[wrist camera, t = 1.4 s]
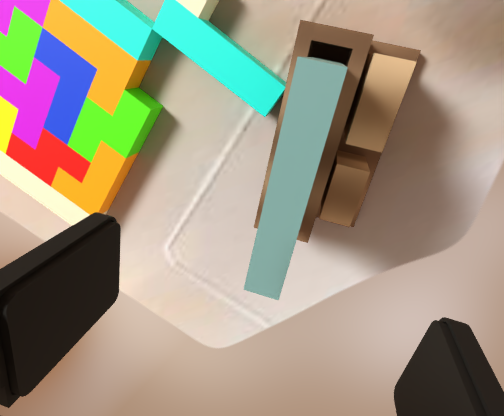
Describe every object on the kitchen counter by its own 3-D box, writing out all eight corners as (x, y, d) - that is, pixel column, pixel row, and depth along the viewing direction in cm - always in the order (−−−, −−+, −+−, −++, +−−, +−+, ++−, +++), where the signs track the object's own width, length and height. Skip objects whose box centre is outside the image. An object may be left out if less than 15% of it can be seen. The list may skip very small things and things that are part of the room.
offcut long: (367, 54, 26) (375, 52, 21) (400, 61, 26) (416, 61, 21) (343, 128, 29) (345, 143, 24) (373, 135, 29) (382, 152, 23)
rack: (307, 28, 27) (300, 19, 22) (417, 50, 26) (441, 48, 21) (267, 199, 35) (253, 227, 29) (352, 222, 33) (356, 256, 28)
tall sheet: (316, 57, 27) (297, 56, 13) (340, 62, 27) (347, 67, 13) (283, 188, 33) (243, 289, 18) (303, 194, 32) (278, 300, 18)
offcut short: (336, 149, 30) (337, 164, 26) (365, 156, 30) (370, 172, 26) (321, 198, 32) (319, 218, 28) (347, 206, 32) (349, 227, 28)
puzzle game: (-42, 121, 40) (160, 266, 42) (-69, 125, 37) (148, 280, 40) (18, -182, 27) (311, 55, 29) (-17, -209, 24) (308, 54, 26)
